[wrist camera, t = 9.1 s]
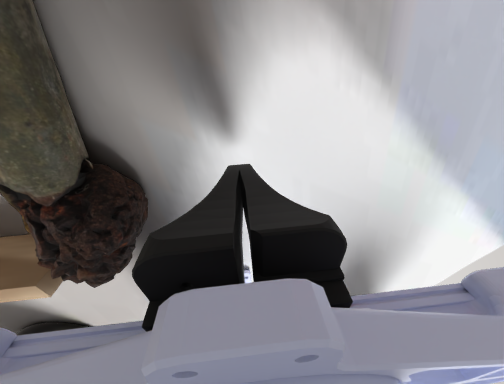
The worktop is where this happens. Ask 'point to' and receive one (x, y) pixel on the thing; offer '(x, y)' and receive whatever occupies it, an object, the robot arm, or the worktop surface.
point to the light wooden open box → (23, 271)
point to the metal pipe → (58, 164)
